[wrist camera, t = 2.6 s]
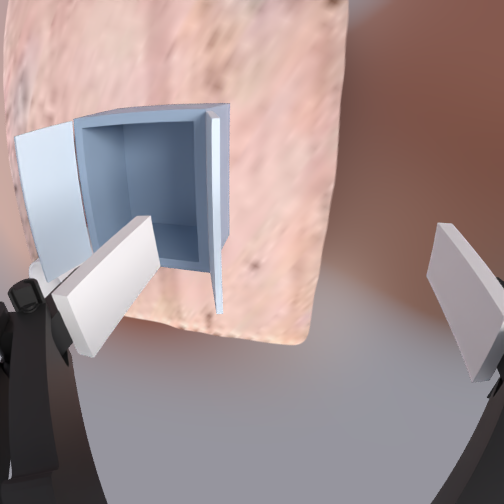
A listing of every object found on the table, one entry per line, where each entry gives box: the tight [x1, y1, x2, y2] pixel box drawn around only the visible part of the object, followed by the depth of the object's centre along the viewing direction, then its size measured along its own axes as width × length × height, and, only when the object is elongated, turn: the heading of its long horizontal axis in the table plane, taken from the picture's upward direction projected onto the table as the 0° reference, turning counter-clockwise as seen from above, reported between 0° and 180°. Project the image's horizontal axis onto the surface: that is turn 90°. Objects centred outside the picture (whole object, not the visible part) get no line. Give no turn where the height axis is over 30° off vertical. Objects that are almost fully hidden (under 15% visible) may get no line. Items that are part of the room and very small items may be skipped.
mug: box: [29, 226, 94, 298], centre depth 46 cm, size 12×8×12 cm
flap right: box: [206, 111, 223, 314], centre depth 29 cm, size 7×18×1 cm
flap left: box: [14, 121, 92, 283], centre depth 32 cm, size 7×18×1 cm
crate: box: [74, 103, 230, 273], centre depth 38 cm, size 16×18×10 cm
